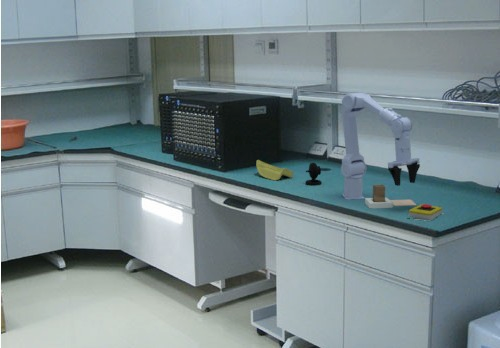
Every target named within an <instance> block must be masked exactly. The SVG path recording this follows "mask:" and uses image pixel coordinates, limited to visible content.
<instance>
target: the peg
mask: <svg viewBox="0 0 500 348" xmlns="http://www.w3.org/2000/svg"><path fill="white" fill-rule="evenodd" d="M372 198H373V202H385V198H386V186H385V185H384V184H372Z"/></svg>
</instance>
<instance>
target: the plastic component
mask: <svg viewBox="0 0 500 348" xmlns="http://www.w3.org/2000/svg"><path fill="white" fill-rule="evenodd" d="M256 169H257V173H258V174H259V175H260V176H262V177H263V178H265V179H268V180H272V181H279V180H280V179H281V178H282V177H287V178H289V179H291V178H293V175H294V173H295V172H294V171H292V170H290V169H288V168H286V167H283V168H282V167H277V166H275V165H271V164H269V163H267V162H264V161H262V160H260V159H257V160H256Z"/></svg>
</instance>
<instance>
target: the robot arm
mask: <svg viewBox="0 0 500 348" xmlns="http://www.w3.org/2000/svg"><path fill="white" fill-rule="evenodd" d="M341 105H342V107H341V108H342V109H341V117H342V127H343V136H344V137H343V138H344V147H345V155H344V157H343V158H342V159H341V167H340V172H341V174H342V176H343V178H344V185H343V186H344V187H343V188H344V189H343V191H344V193H341V195H342V196H343V197H344V199H346V200H360V199H365V198H366V197H365V196H364V195H363V178H364V174H366V172H367V164H366V162H365V157H364V156H363V155H362V154H361V153H360V147H359V137H358V125H357V115H358V114H359V112H361V111H362V110H364V109H367V110H369V111H371V112H372V113H374V114H375V115H377V116H379V120H380V121H381V122H383V124H385V125H386V126H388V127H390V131H391V132H392V134H393V137H394V146H395V147H394V149H395V160H393V161H391V162H387V170H388V171H389V173H390V175H391V177H392V179H393V182H394V185H395V186H401V173H402V166H406V168H407V171H408V178H409V179H408V180H409V183H411V184H415V183H416V179H417V174H418V172H419V169H420V167H421V164H420V162H421V161H420V158H417V157H416V158H415V157H414V158H412V152H411V151H412V150H411V149H412V148H411V135H410V134H411V133H410V132H411V131H412V129H413V122H412V120H411V119H410V118H409V117H407V116H405V117H403V116H402V115H401V113H400V114H398V113H397V112H396V111H394V109H393V108H392V107H386V108H385V107H383V106H382V105H380V104H379V103H378V102H377V101H375V100H374V99H373V98H372V97H371V95H370V94H368V93H367V92H364V91H362V92H357V93H355V92H354V93H346V94H345V95H344V97H343V98H342V99H341Z"/></svg>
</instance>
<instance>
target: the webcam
mask: <svg viewBox="0 0 500 348" xmlns="http://www.w3.org/2000/svg"><path fill="white" fill-rule="evenodd" d="M305 173H308V174H309V178H310V179H307V180H305V184H306V185H308V186H319V185H322V184H323V183H322V181H321V180H320V179H317V178H318V176H319V175H321V174H322V168H321V166H320V165H318V164H317V163H315V162H310V163H309V166H308V170H305Z"/></svg>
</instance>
